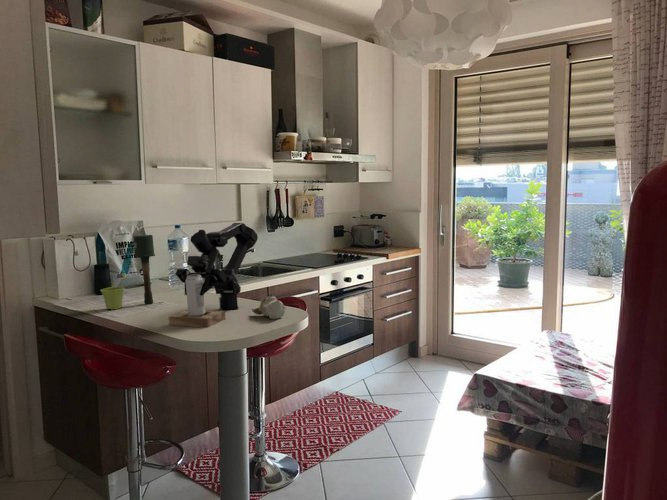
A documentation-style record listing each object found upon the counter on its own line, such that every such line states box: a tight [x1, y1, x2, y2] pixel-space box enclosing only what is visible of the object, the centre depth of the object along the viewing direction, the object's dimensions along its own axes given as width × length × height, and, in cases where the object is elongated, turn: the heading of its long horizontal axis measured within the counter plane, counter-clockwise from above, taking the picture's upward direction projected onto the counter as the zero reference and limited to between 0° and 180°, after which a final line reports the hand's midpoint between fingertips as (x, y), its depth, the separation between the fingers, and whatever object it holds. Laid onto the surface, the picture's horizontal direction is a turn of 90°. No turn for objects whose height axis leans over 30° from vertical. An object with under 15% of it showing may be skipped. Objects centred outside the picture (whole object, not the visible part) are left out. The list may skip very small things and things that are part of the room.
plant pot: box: [99, 286, 125, 310], centre depth 227 cm, size 9×9×9 cm
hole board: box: [168, 309, 226, 328], centre depth 195 cm, size 12×16×3 cm
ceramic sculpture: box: [251, 294, 286, 320], centre depth 198 cm, size 11×9×15 cm
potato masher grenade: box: [133, 234, 156, 305], centre depth 232 cm, size 8×9×30 cm
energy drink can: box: [186, 274, 206, 317], centre depth 194 cm, size 6×6×15 cm
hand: (193, 295), depth 192 cm, fingers closed on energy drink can, 6 cm apart
